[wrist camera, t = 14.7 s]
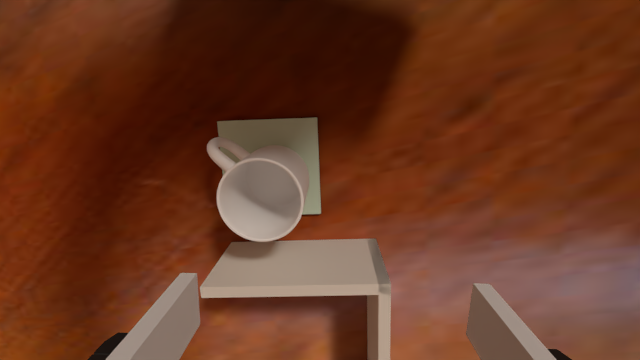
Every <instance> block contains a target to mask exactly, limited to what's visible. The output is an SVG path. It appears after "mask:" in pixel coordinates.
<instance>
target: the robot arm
mask: <svg viewBox="0 0 640 360" xmlns="http://www.w3.org/2000/svg"><path fill="white" fill-rule="evenodd" d="M199 325H200V313H199V298H198V282H197V273H180V275H179V276H178V277H177V278H176V279H175V280H174V282H173V283H172V284H171V285H170V286H169V287H168V288H167V290H166V291H165V292H164V293H163V294H162V295H161V296H160V298H159V299H158V300H157V301H156V302H155V303H154V304H153V306H152V307H151V308H150V309H149V310H148V311H147V313H146V314H145V315H144V316H143V317H142V318H141V319H140V321H139V322H138V323H137V324H136V325H135V326H134V327H133V329H132V330H131V331H130V332H129V333H117V334H115V335H114V336H112V337H111V338H109V339H108V340H106V341H105V342H104V343H103V344H102V345H101V346H100V347H99V348H98V349H97V350H96V351H95V352H94V355H91V356H90V358H89V359H88V360H179V359H180V358H181V356H182V354H183V352H184V351H185V349H186V347H187V346H188V344H189V342H190V340H191V339H192V337H193V335H194V334H195V332H196V330H197V328H198V327H199ZM466 335H467V337H468V338H469V340H470V342H471V343H472V345H473V347H474V349H475V350H476V352H477V354H478V355H479V357H480V359H481V360H572V359H570V358H569V357H567V356H566V355H564V354H563V353H561V352H560V351H559V350H557V349H547V348H546V347H545V346H544V345H543V344H542V343H541V341H540V340H539V339H538V338H537V337H536V336H535V335H534V334H533V332H532V331H531V330H530V329H529V328H528V327H527V326H526V324H525V323H524V322H523V321H522V320H521V319H520V318H519V317H518V315H517V314H516V313H515V312H514V311H513V310H512V309H511V307H510V306H509V305H508V304H507V303H506V302H505V301H504V300H503V298H502V297H501V296H500V295H499V294H498V293H497V292H496V290H495V289H494V288H493V287H492V286H491V285H490V284H476V283H473V289H472V296H471V303H470V310H469V317H468V324H467V331H466Z"/></svg>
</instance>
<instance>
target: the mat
mask: <svg viewBox="0 0 640 360" xmlns="http://www.w3.org/2000/svg"><path fill="white" fill-rule="evenodd" d="M217 126H218V136H219V137H223V138H227V139H229V140H231V141H233V142H235V143H237V144H238V145H239V146H241V147H242V148H243V149H245V150H246V151H247V152H249V153H250V154H251V153H253V152H254V151H256V150H258V149H259V148H262V147H265V146H269V145H280V146H284V147H287V148H290V149H292V150H293V151H295V152H296V153H297V154H298V155H299V156H300V157H301V158H302V159H303V160H304V162H305V164H306V166H307V168H308V172H309V188H308V192H307V196H306V200H305V204H304V208H303V212H302V214H321V198H320V173H319V147H318V122H317V117H313V118H287V119H260V120H233V121H217ZM220 151H221V152H222V153H224V154H225V155H226V156H227V157H229V158H230V159H231V160H233V161H234V162H235V163H238V162H239V161H241V160H240V159H239V158H237V157H236V156H235V155H234V154H233V153H232V152H230V151H229V150H227V149H225V148H223V147H220ZM222 173H223V175H224V174H225V173H226V172H225V171H224V170H223V169H222Z"/></svg>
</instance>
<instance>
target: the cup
mask: <svg viewBox="0 0 640 360" xmlns="http://www.w3.org/2000/svg"><path fill="white" fill-rule="evenodd" d="M218 147H223V148H225V149H227V150H229V151H230V152H232V153H233V154H234V155H235V156H236V157H237V158H239V159H240V160H241V161H239V162H238V163H235V162H234V161H233V160H231V159H230V158H229V157H227V156H226V155H225V154H224V153H222V152H221V151H220V150H219V148H218ZM207 152H208V155H209V156H210V158H211V159H212V160H213V161H214V162H215V163H216V164H217V165H218V166H219V167H220V168H222V169H223V170H224V171H225V172H226V173H225V174H224V175H223V177H222V178H221V180H220V183H219V185H218V189H217V198H216V199H217V207H218V210H219V213H220V215H221V217H222V219H223V221H224V222H225V224H226V225H227V226H228V227H229V228H230V229H231V230H232V231H233V232H234V233H236V234H237V235H239V236H241V237H243V238H245V239H248V240H251V241H257V242H268V241H273V240H277V239H279V238H281V237H283V236H285V235H287V234H288V233H289V232H290V231H292V230H293V229H294V227H295V226H296V225H297V223H298V222H299V220H300V218H301V215H302V212H303V208H304V204H305V200H306V196H307V192H308V188H309V172H308V168H307V166H306V164H305V162H304V160H303V159H302V158H301V157H300V156H299V155H298V154H297V153H296V152H295V151H293V150H292V149H290V148H287V147H284V146H280V145H269V146H265V147H262V148H259V149H258V150H256V151H254V152H253V153H251V154H250V153H249V152H247V151H246V150H245V149H243V148H242V147H241V146H239V145H238V144H237V143H235V142H233V141H231V140H229V139H227V138H223V137H216V138H213V139H211V140H210V141H209V142H208V144H207Z"/></svg>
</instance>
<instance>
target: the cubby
mask: <svg viewBox="0 0 640 360" xmlns="http://www.w3.org/2000/svg"><path fill="white" fill-rule="evenodd" d="M200 291H201V298H230V297H287V296H345V295H367V360H390V316H391V283H390V280H389V277H388V274H387V271H386V268H385V265H384V262H383V259H382V256H381V253H380V250H379V247H378V244H377V241H376V239H340V240H297V241H268V242H257V241H255V242H231V244H230V245H229V246H228V248H227V249H226V251H225V252H224V254H223V255H222V256H221V258H220V259H219V261H218V262H217V264H216V265H215V266H214V268H213V269H212V271H211V272H210V274H209V275H208V277H207V278H206V279H205V281H204V282H203V284H202V285H201V287H200Z"/></svg>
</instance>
